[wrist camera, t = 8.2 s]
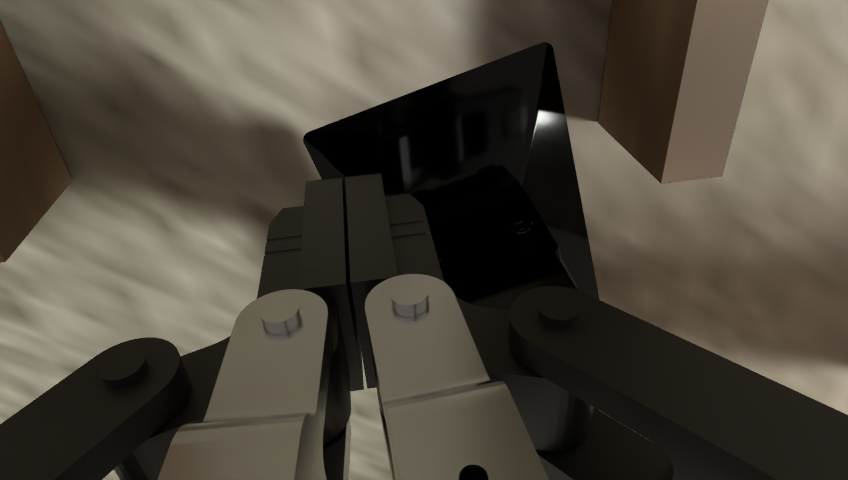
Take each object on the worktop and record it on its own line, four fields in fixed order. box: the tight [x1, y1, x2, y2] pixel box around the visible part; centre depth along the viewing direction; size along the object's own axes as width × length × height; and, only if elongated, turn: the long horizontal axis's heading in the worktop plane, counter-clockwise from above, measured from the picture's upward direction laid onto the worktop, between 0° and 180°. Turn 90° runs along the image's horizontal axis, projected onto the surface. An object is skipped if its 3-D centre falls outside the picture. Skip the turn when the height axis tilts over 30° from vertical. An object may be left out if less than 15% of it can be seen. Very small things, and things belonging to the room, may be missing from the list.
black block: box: [303, 42, 599, 310], centre depth 13 cm, size 12×7×5 cm, turn 18°
